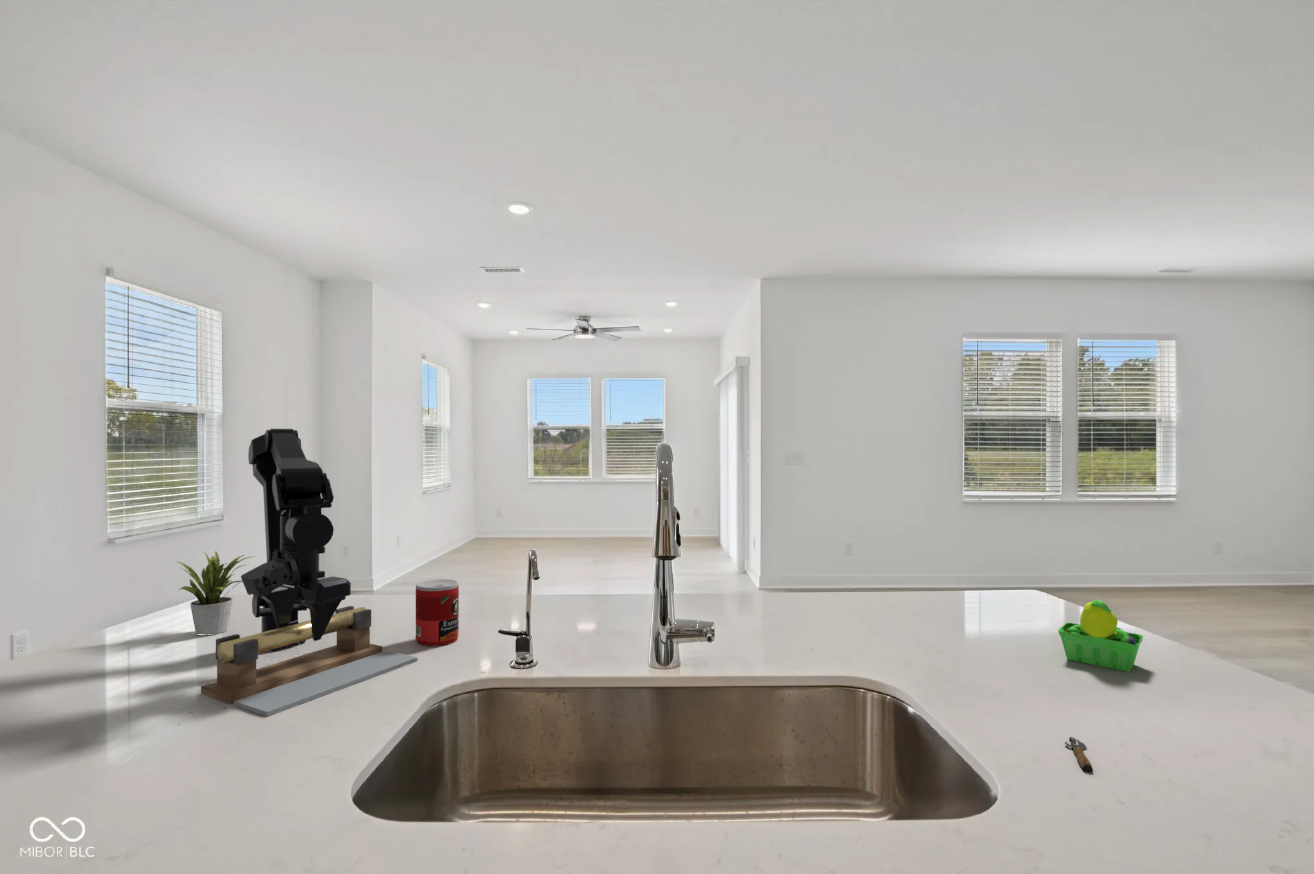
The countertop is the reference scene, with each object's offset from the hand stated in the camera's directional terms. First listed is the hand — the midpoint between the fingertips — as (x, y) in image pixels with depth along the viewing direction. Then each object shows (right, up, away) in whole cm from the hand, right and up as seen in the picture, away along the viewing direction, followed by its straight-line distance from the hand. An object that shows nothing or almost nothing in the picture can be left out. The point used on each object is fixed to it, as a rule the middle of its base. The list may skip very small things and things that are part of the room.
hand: (299, 636), depth 108 cm
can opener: (+111, -6, -29) cm, 115 cm away
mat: (+8, -6, -4) cm, 11 cm away
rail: (0, -1, 0) cm, 1 cm away
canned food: (+17, -6, +17) cm, 25 cm away
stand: (0, -6, 0) cm, 6 cm away
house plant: (-29, -6, +22) cm, 37 cm away
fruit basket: (+135, -6, +4) cm, 136 cm away
